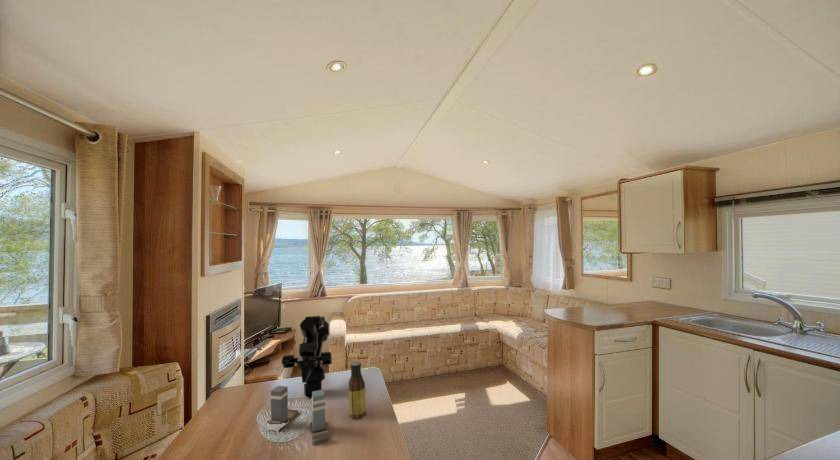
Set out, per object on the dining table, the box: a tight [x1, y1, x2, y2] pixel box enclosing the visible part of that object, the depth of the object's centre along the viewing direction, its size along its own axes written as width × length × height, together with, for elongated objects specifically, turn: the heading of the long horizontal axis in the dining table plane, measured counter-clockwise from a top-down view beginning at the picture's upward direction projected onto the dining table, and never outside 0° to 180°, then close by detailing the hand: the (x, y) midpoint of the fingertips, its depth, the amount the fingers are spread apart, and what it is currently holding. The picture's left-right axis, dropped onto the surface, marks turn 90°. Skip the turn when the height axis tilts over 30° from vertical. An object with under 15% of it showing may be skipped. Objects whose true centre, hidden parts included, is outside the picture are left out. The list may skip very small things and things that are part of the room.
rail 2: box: [310, 421, 329, 446], centre depth 107 cm, size 12×5×3 cm, turn 23°
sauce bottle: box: [348, 361, 367, 420], centre depth 118 cm, size 6×6×20 cm
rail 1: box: [266, 408, 300, 424], centre depth 114 cm, size 12×5×3 cm, turn 168°
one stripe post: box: [269, 385, 289, 424], centre depth 112 cm, size 4×4×12 cm
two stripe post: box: [311, 389, 326, 432], centre depth 109 cm, size 4×4×12 cm
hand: (304, 381), depth 117 cm, fingers closed
